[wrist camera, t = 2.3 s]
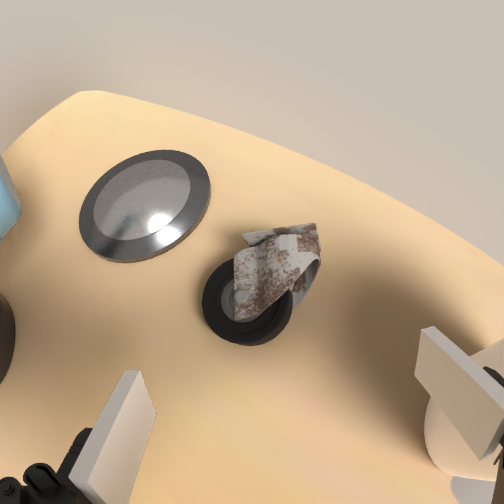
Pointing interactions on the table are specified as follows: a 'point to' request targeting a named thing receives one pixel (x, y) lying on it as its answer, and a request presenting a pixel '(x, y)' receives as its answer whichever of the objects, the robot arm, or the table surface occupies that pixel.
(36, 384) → the table surface
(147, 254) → the carrier plate
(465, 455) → the canister
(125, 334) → the table surface
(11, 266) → the table surface
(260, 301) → the caster wheel
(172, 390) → the table surface
